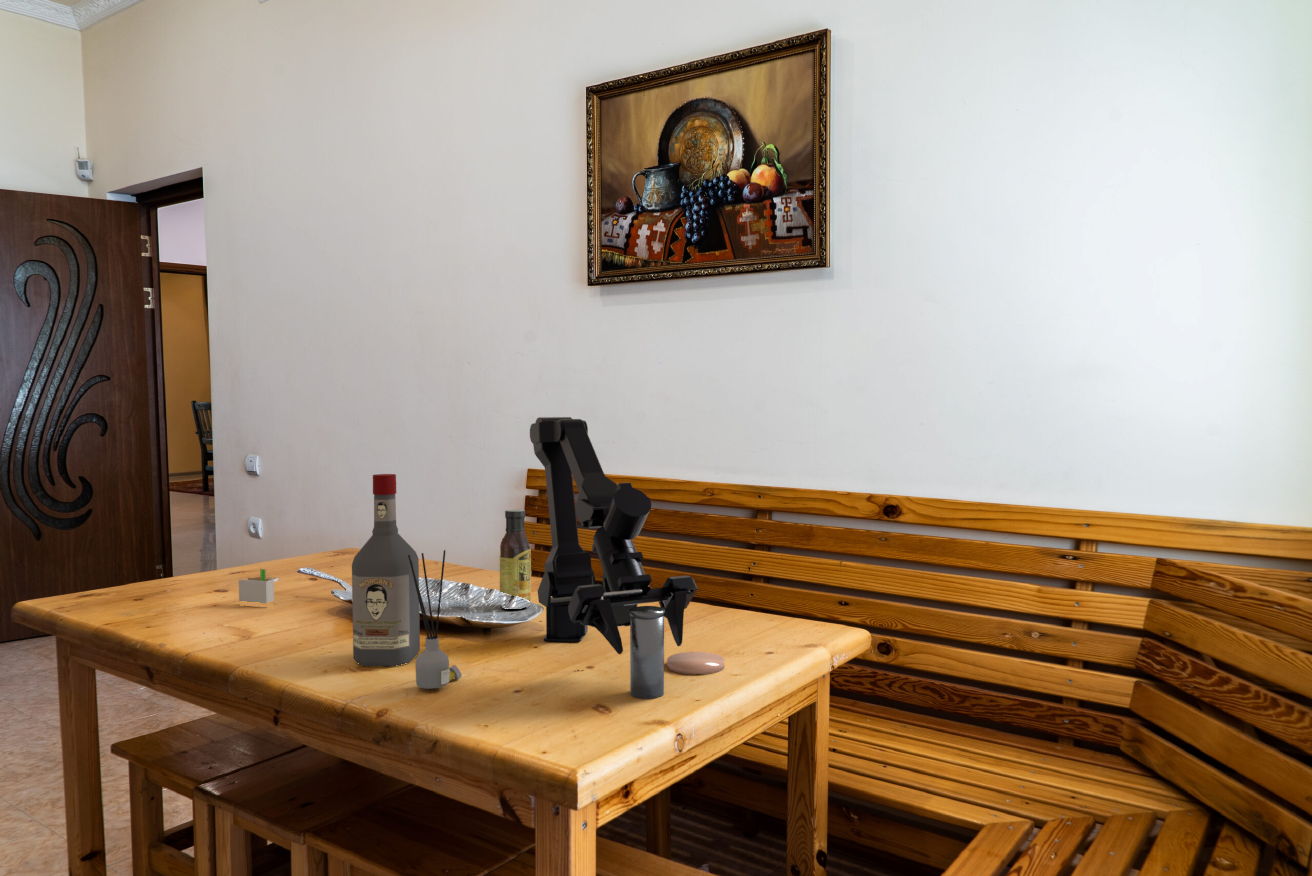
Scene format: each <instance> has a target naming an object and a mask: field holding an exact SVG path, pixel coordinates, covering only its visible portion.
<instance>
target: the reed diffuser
mask: <svg viewBox="0 0 1312 876" xmlns="http://www.w3.org/2000/svg"><path fill="white" fill-rule="evenodd" d="M442 553H443V555H442V563H441V575H440V584H439V585H440V586H439V596H438V605H437V612H436V614H437V615H436V625H435V626H434V620H433V613H432V606H431V600H430V590H429V584H428V578H427V577H428V576H427V570H426V564H425V563H426V562H425V557H424V555H425V554H424V552H421V560H422V568H423V572H424V573H423V574H424V579H425V581H424V582H425V589H426V595H427V596H426V597H427V601H428V603H427V604H428V608H429V609H428V610H429V616H430V617H429V618H430V622H431V623H430V622H429V620H428V615H427V613H426V609H425V605H424V601H423V598H422V594H421V590H420V586H419V587H418V583H417V579H416V576H415V572H414V569H413V564H412V560H411V558H410V555H408V558H409V561H410V565H411V569H412V573H413V577H414V582H415V586H416V590H417V595H418V599H419V609H420V612H421V616H422V620H423V624H424V629H425V632H426V637H425V638H424V639H425V642H424V643H425V644H424V646H425V647H424V648H425V650H423V651H422V652H421V653H420V654H419V655H417V656H416V659H415V663H414V664H415V682H416V686H417V687H418V688H419V689H438V688H442V687H445V686H447V685H448V684H449V682H452V680H454V679H455V680H456V681H457V680H459V679H461V678H462V677H463V676H462V672H461V670H460V669H459V668H458V666H456V665H455V664H453V665H451V666H450V659H449V655H448V654H446V653H445V652H444V651H442V650H441V649H440V648H439V646H440V642H439V636H438V631H439V620H440V610H441V602H442V601H441V599H442V590H443V589H442V588H443V583H444V581H443V579H444V571H445V569H444V568H445V561H446V560H445V559H446V550H445V549H444V550H443V552H442ZM429 623H430V624H431V627H430V624H429Z"/></svg>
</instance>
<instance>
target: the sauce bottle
mask: <svg viewBox="0 0 1312 876" xmlns="http://www.w3.org/2000/svg"><path fill="white" fill-rule="evenodd" d="M504 516H505V534H504V536H503V538H502V539H501V542H500V544H499V545H500V548H499V550H500V551H499V553H500V555H499V593H500V592H503V593H507V594H511V595H513V596H519V597H522V598H525V599H527V600H529V601H530V602H531V599H532V596H531V594H532V593H531V591H532V583H531V582H532V581H531V580H532V572H531V571H532V563H531V561H532V558H531V557H532V552H531V551H532V549H531V546H530V543H529V539H528V537H527V534H526V528H525V518H526V510H525V509H506V510H504Z"/></svg>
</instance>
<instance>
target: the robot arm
mask: <svg viewBox="0 0 1312 876" xmlns="http://www.w3.org/2000/svg"><path fill="white" fill-rule="evenodd" d="M588 431H589V427H588V424H587V421H586V420H583V419H581V418H572V417H571V416H569V417H568V416H563V417H562V416H561V417H560V416H553V417H550V416H548V417H546V416H545V417H542V416H541V417H537V418H536V420H535V422H534V423H531V424H530V427H529V439H530V442H531V443H532V445H533V453H534V455H535V457H536V458H537V459H538V460H539V462H540V463H541V465H542V466H543V467H544V472H545V483H546V484H545V485H546V492H547V493H546V494H547V506H548V513H549V514H548V515H549V525H550V535H551V546H552V547H551V550H550V553H549V555H548V556H547V558H546V561H545V563H544V573H543V576H542V577H541V578H542V579H541V582H540V583H539V586H538V589H537V598H538V599H537V600H538V603H539V604H540V605H543V606H544V607H545V614H546V615H545V620H546V621H545V623H546V624H545V625H546V626H545V627H546V628H545V630H546V633H545V634H546V635H544V637H543V641H545V642H575V643H579V642H581V641H582V640H583V638H584V637H585V636H586V634H587V633H588V626H589V627H592V628H594V629H596V630H597V631H598V632H599V633H600V634H601V636H603V638H605V640H606V641H607V642H608V644H609V645H610V646H611V647H612V648H613V650H615V652H616V653H617V654H618V655H621V654H623V652H624V647H623V642H622V638H621V635H620V631H619V627H630V609H631V608H633V607H638V606H639V605H642V604H650V603H659V604H658V605H659V607H661V608H664V609H665V615H664V619H667V622H668V625H669V629H670V631H671V634H672V638H673V640H674V642H675V644H676V646H677V647H681V645H682V644H683V635H684V634H683V633H684V615H685V614H684V613H685V610H686V609H687V608H688V606H689V604H690V603H691V601H692V599H693V598H694V596H695V595H696V593H697V591H698V589H699V588H698V587H697V584H696V582H695V579H694V578H693V577H692V576H690V575H678V576H670V577H669V576H668V577H667V578H666V580H665V582H664V584H663V585H662V587H652V588H651V586H650V584H651V583H652V577H651V574H650V573H647V574H646V573H645V570H644V568H643V565H642V561H643V559H644V554H643V553H642V551H638V550H637V549H636V545H635V543H634V541H633V540H634V539H635V538H637V537H638V536H639V535H640V532H641V531H642V528H643V527H644V525H645V523H646V520H647V518H648V515H649V514H650V511H651V509H652V502H651V498H650V497H649V496H647V494H646V493H644V492H643V491H641V490H639V489H638V488H635V487H633V485H632V482H619V483H617V482H615V481H613V480H612V479H610V478H608V477H607V476H606V474H605V472H604V470H603V468H602V465H601V463H600V460H599V457H598V456H597V453H596V451H595V449H594V448H595V447H594V446H593V443H592V442H591V439H590V436H589V432H588ZM573 480H574V482H573ZM574 483H575V485H576V488H577V492H578V494H577V496H576V497H577V498H576V500H575V492H574V490H575V489H574ZM577 520H578V521H577ZM577 522H579V523H580V525H581V526H582V527H583V528H584V529H597V530H596V531H595V533H594V535H593V538H592V541H593V542H592V545H591V546H592V547H591V551H592V553H595V554H596V553H597V556H598V558H599V561H600V562H599V563H600V564H601V567H602V570H603V573H602V575H601V579H602V580H601V581H602V584H600V583H597V584H596V576H595V572H594V570H593V569H592V568H593V567H592V556H591V554H590V553H589V551H585V550H584V549H583V547H582V546H581V545H580V540H579V533H578V523H577Z"/></svg>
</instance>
